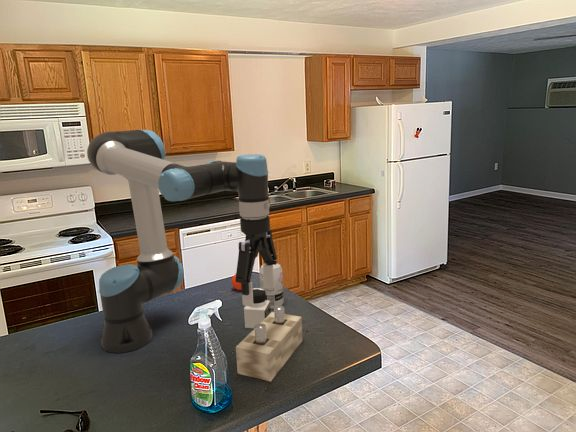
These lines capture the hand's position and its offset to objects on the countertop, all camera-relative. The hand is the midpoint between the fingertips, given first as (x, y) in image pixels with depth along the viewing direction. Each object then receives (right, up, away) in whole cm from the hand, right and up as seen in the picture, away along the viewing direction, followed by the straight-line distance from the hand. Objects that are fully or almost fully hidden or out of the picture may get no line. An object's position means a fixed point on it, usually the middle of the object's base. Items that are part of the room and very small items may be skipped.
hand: (259, 296), depth 114 cm
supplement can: (+2, -11, +43) cm, 45 cm away
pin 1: (0, -16, +4) cm, 16 cm away
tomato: (-11, -8, +58) cm, 60 cm away
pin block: (+3, -19, +10) cm, 22 cm away
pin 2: (+5, -13, +14) cm, 20 cm away
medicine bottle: (-2, -15, +29) cm, 33 cm away
